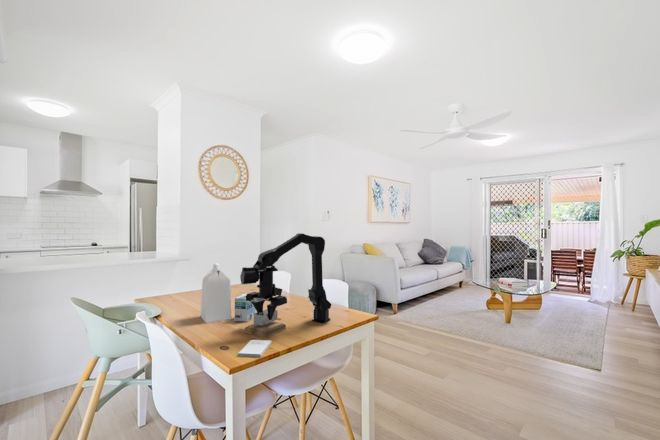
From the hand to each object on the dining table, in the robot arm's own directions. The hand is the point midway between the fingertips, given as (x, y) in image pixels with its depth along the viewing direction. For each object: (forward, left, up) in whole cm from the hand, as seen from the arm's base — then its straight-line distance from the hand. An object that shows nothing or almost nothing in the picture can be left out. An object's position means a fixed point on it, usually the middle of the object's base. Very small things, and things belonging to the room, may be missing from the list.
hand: (265, 318), depth 126 cm
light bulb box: (+20, -8, -5) cm, 22 cm away
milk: (+33, -1, -5) cm, 33 cm away
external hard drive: (-10, +16, -6) cm, 20 cm away
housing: (0, 0, -1) cm, 1 cm away
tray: (0, 0, -5) cm, 5 cm away
